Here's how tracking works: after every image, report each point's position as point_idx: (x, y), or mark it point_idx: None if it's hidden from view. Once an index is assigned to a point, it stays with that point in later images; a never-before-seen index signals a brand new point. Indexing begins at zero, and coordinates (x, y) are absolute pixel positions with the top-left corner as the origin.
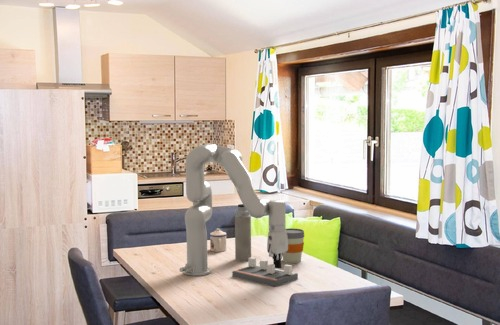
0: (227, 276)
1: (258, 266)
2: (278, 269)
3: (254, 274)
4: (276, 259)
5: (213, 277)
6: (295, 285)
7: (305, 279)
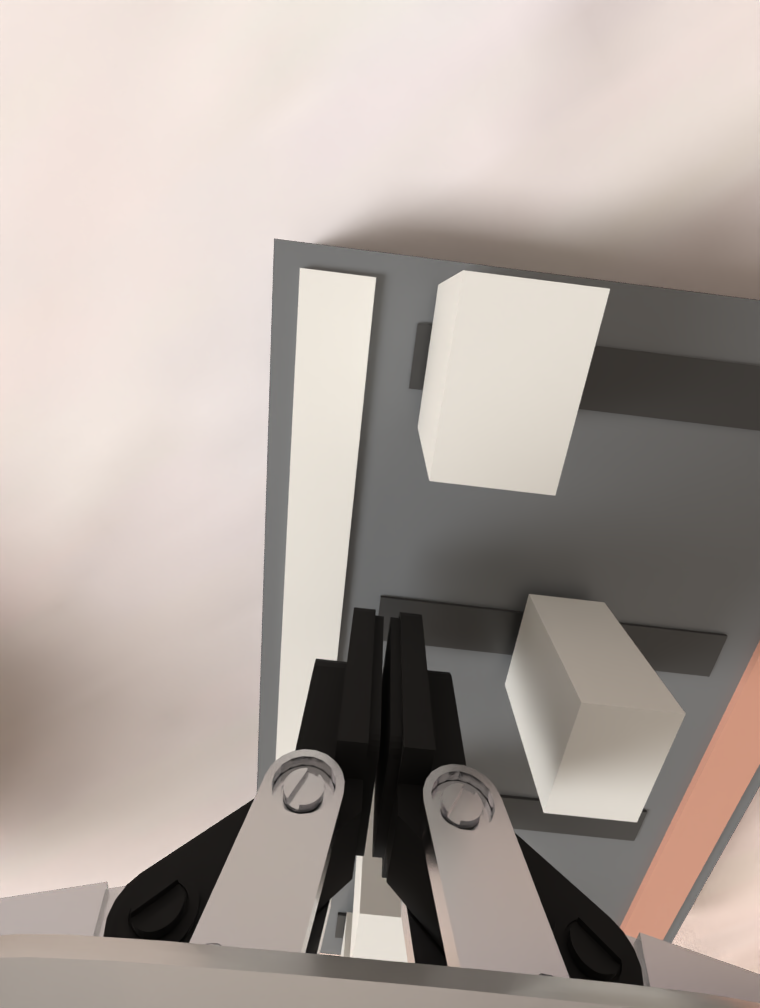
0: None
1: None
2: (289, 651)
3: (714, 774)
4: (487, 804)
5: None
6: (707, 31)
7: (240, 93)
